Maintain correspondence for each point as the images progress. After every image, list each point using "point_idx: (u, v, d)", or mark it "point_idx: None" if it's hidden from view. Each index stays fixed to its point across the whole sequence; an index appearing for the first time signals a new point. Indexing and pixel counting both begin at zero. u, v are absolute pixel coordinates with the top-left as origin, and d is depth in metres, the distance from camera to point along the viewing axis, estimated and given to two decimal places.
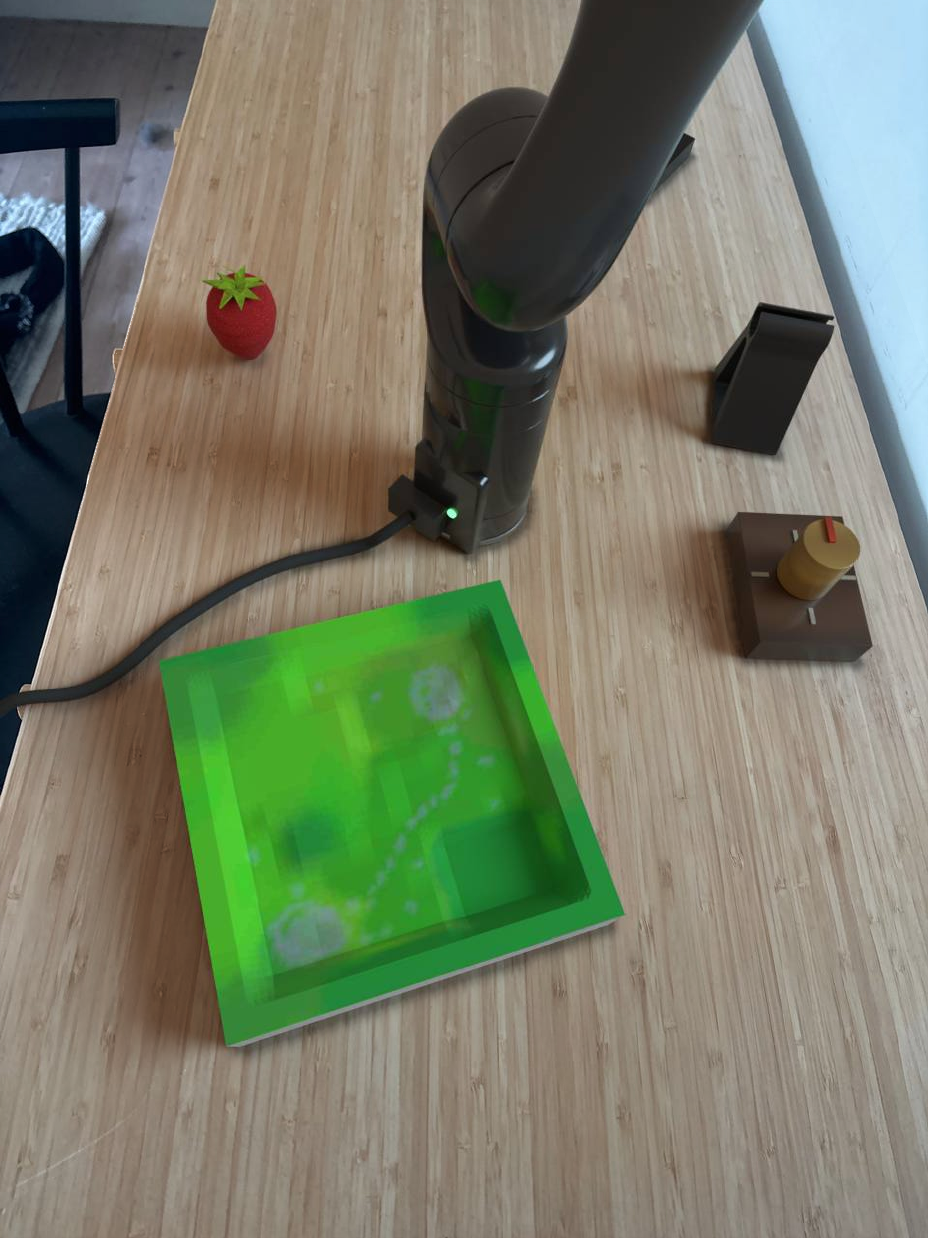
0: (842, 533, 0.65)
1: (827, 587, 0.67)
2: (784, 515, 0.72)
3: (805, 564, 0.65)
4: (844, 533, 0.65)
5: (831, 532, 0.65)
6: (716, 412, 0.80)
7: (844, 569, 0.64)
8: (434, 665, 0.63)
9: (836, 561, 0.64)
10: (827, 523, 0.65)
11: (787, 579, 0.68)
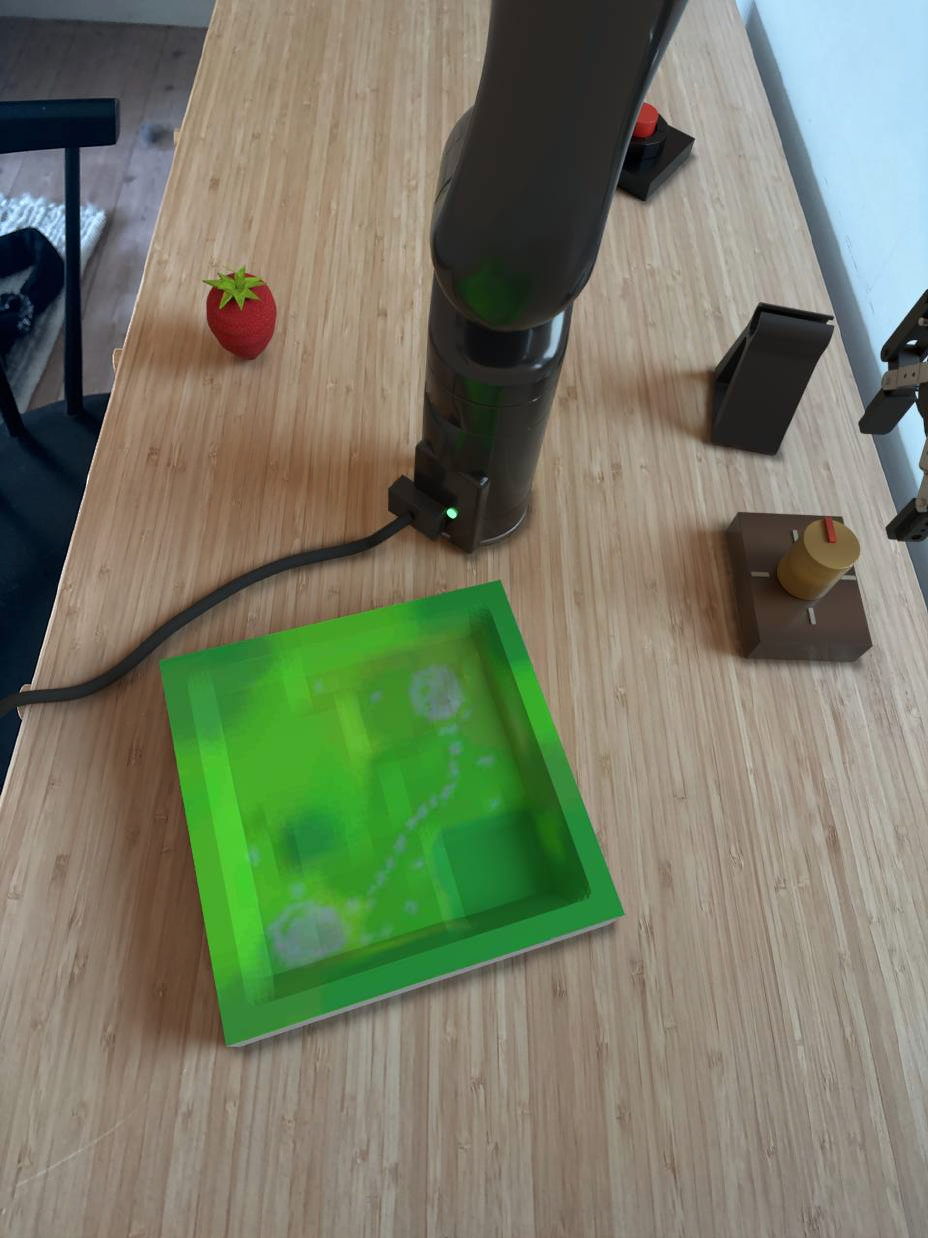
0: (842, 533, 0.65)
1: (827, 587, 0.67)
2: (784, 515, 0.72)
3: (805, 564, 0.65)
4: (844, 533, 0.65)
5: (831, 532, 0.65)
6: (716, 412, 0.80)
7: (844, 569, 0.64)
8: (434, 665, 0.63)
9: (836, 561, 0.64)
10: (827, 523, 0.65)
11: (787, 579, 0.68)
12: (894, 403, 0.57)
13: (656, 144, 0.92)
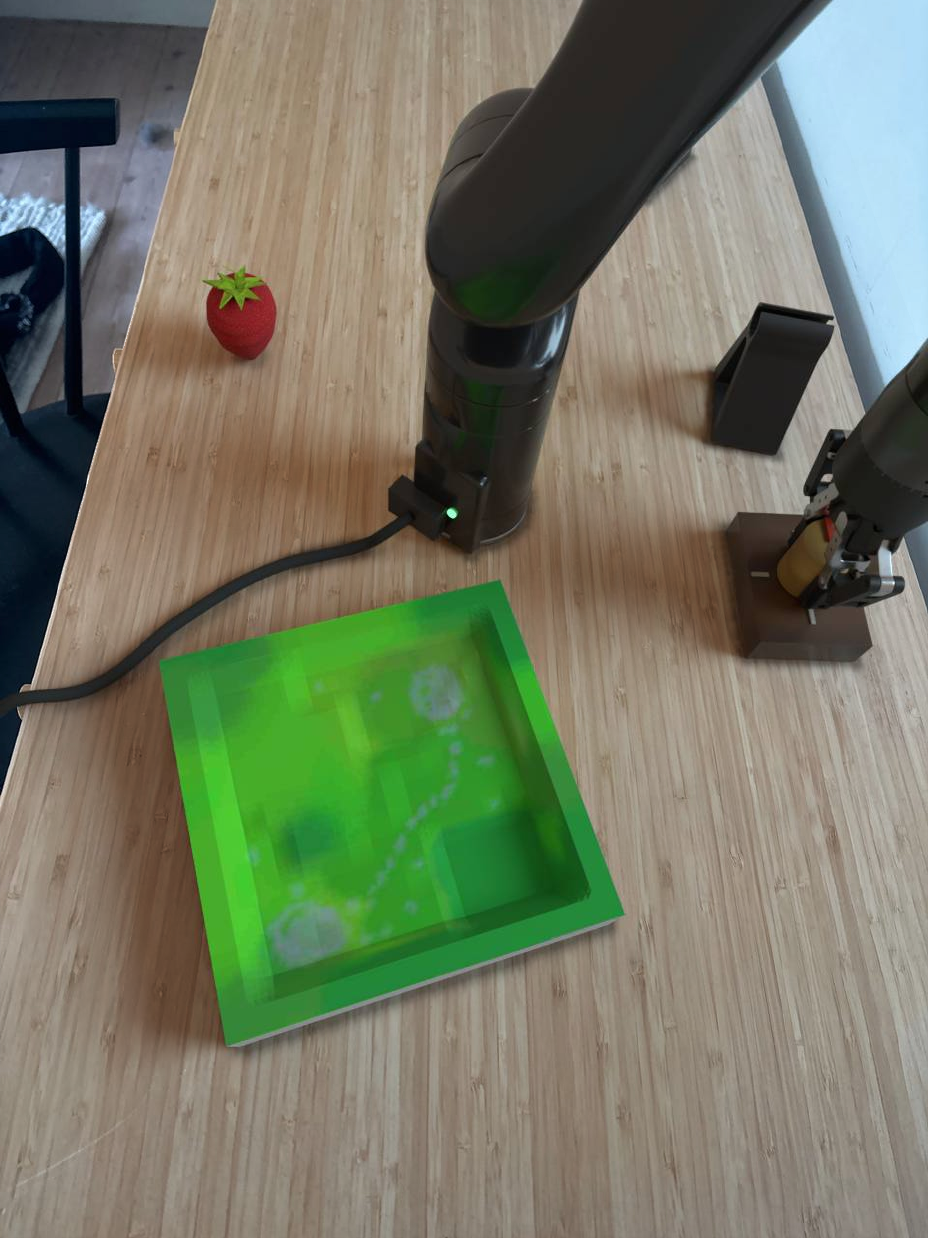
0: None
1: None
2: (784, 515, 0.72)
3: (805, 564, 0.65)
4: None
5: (831, 532, 0.65)
6: (716, 412, 0.80)
7: (844, 569, 0.64)
8: (434, 665, 0.63)
9: None
10: (827, 523, 0.65)
11: (787, 579, 0.68)
12: None
13: None
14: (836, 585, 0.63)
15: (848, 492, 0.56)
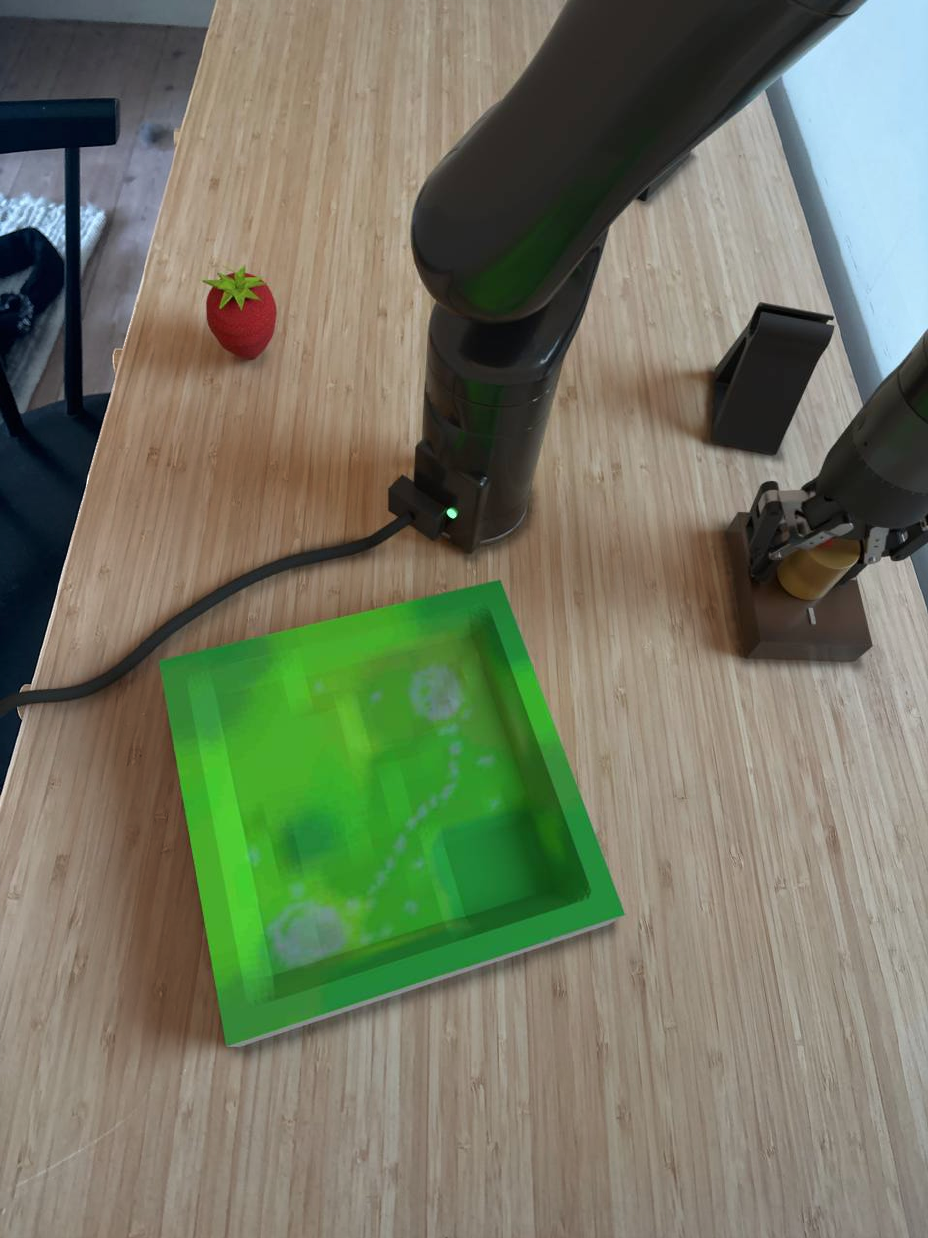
0: None
1: None
2: None
3: None
4: None
5: (824, 542, 0.65)
6: (716, 412, 0.80)
7: None
8: (434, 665, 0.63)
9: (851, 542, 0.65)
10: None
11: (827, 591, 0.68)
12: None
13: None
14: (887, 549, 0.65)
15: (919, 518, 0.56)
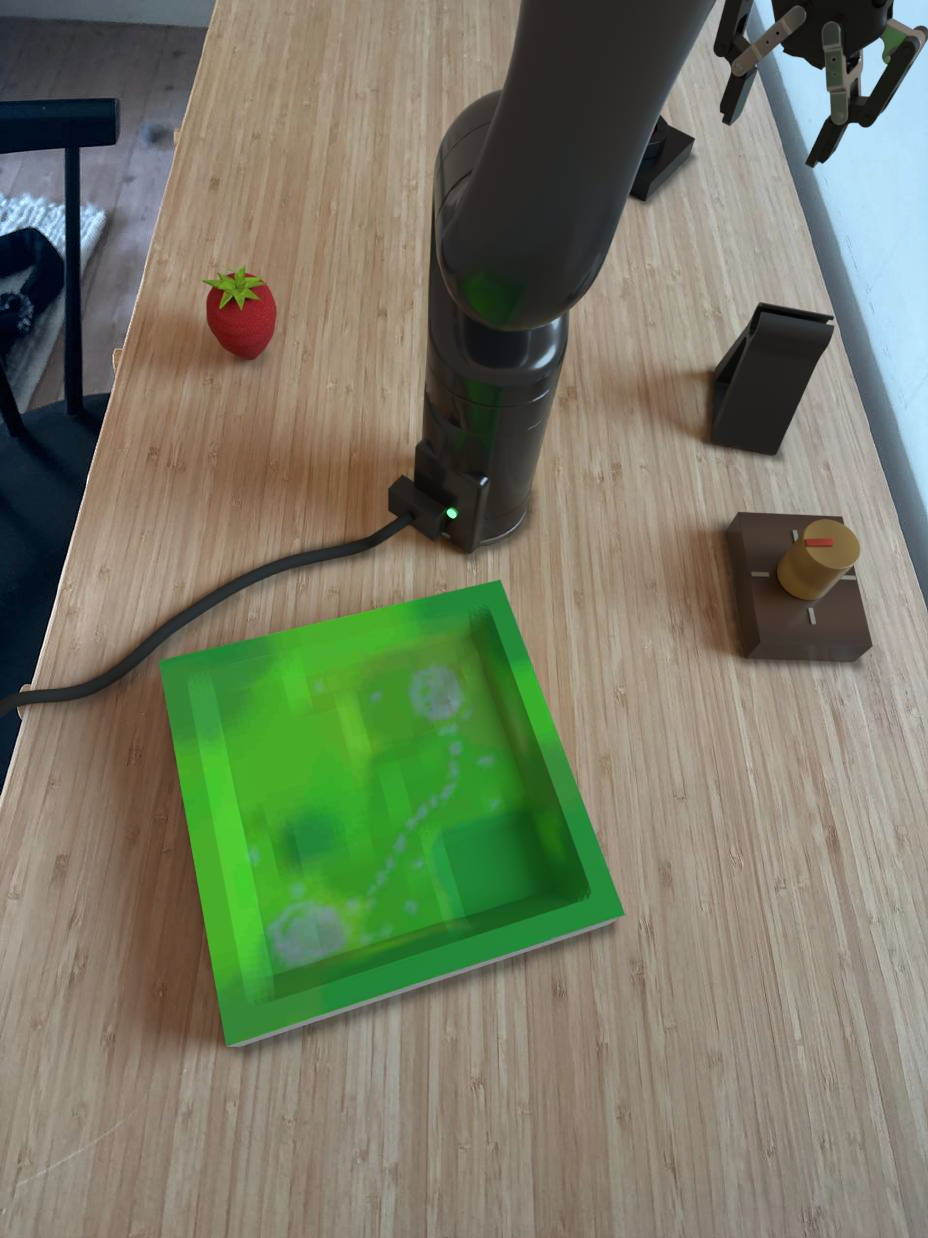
0: (816, 532, 0.65)
1: None
2: (784, 515, 0.72)
3: None
4: (816, 530, 0.65)
5: (824, 542, 0.65)
6: (716, 412, 0.80)
7: (856, 537, 0.65)
8: (434, 665, 0.63)
9: (851, 542, 0.65)
10: (814, 543, 0.64)
11: (827, 591, 0.68)
12: (748, 82, 0.65)
13: (656, 144, 0.92)
14: (858, 106, 0.61)
15: None
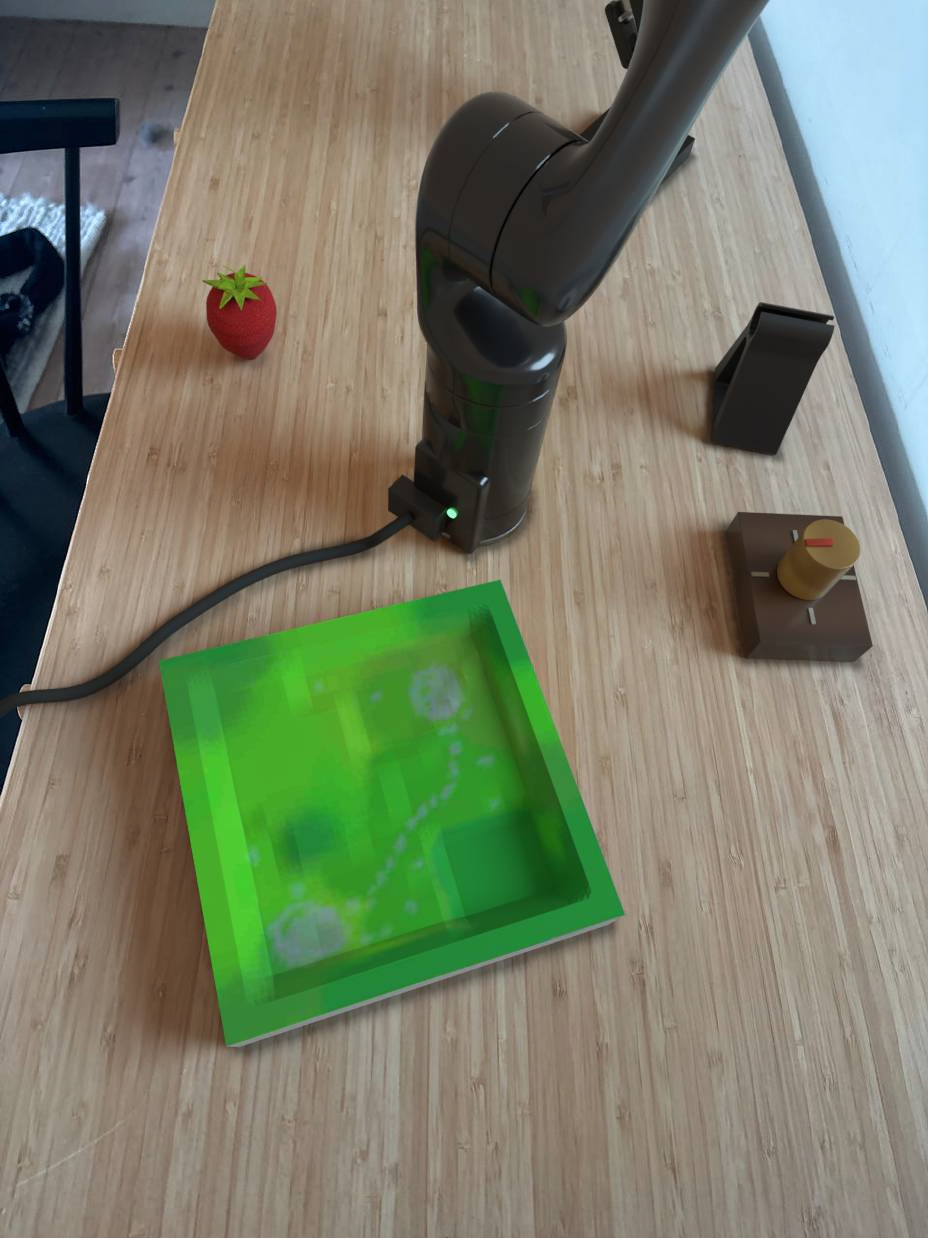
0: (816, 532, 0.65)
1: None
2: (784, 515, 0.72)
3: None
4: (816, 530, 0.65)
5: (824, 542, 0.65)
6: (716, 411, 0.80)
7: (856, 537, 0.65)
8: (434, 665, 0.63)
9: (851, 542, 0.65)
10: (814, 543, 0.64)
11: (827, 591, 0.68)
12: None
13: None
14: None
15: None
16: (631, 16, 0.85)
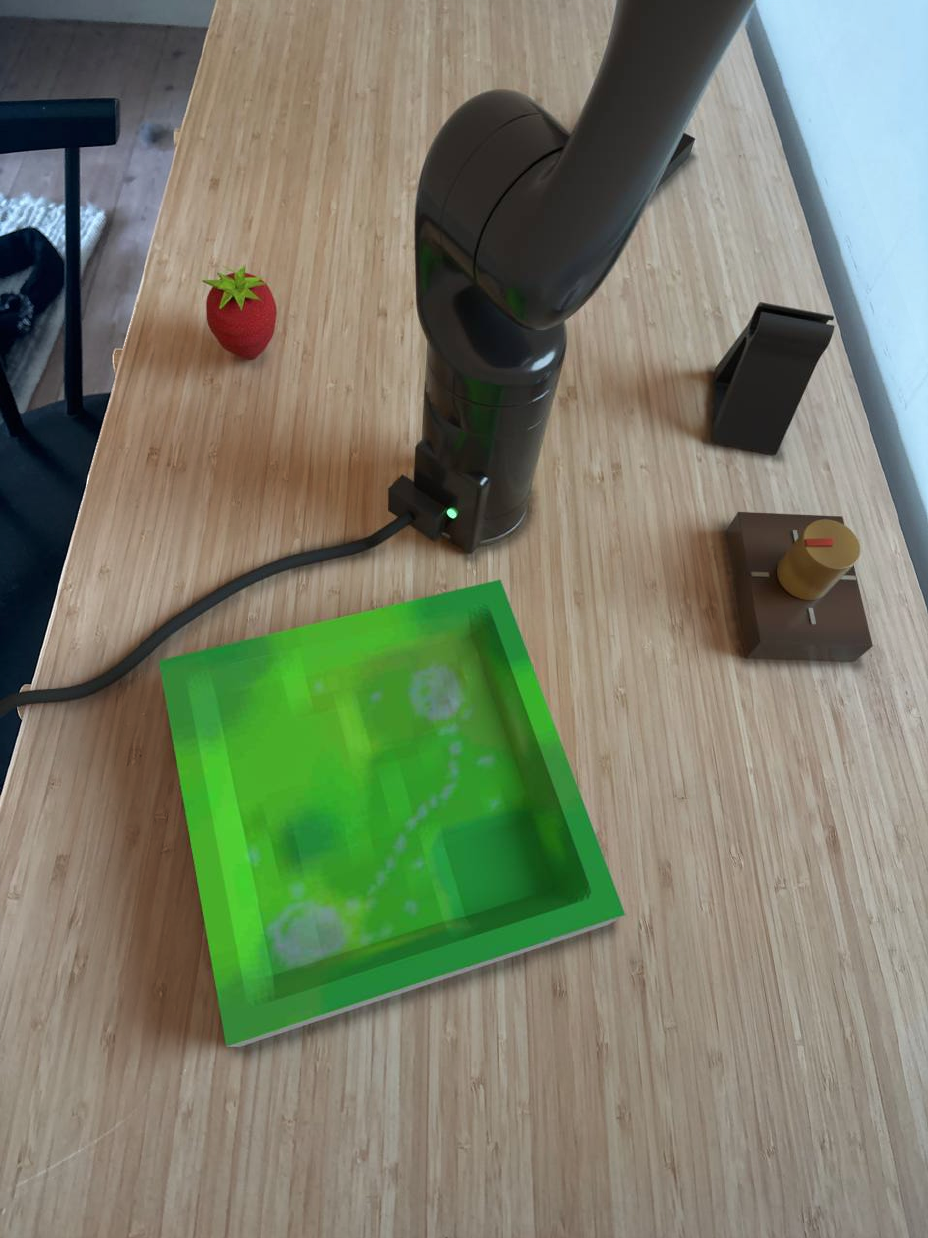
0: (816, 532, 0.65)
1: None
2: (784, 515, 0.72)
3: None
4: (816, 530, 0.65)
5: (824, 542, 0.65)
6: (716, 411, 0.80)
7: (856, 537, 0.65)
8: (434, 665, 0.63)
9: (851, 542, 0.65)
10: (814, 543, 0.64)
11: (827, 591, 0.68)
12: None
13: None
14: None
15: None
16: None
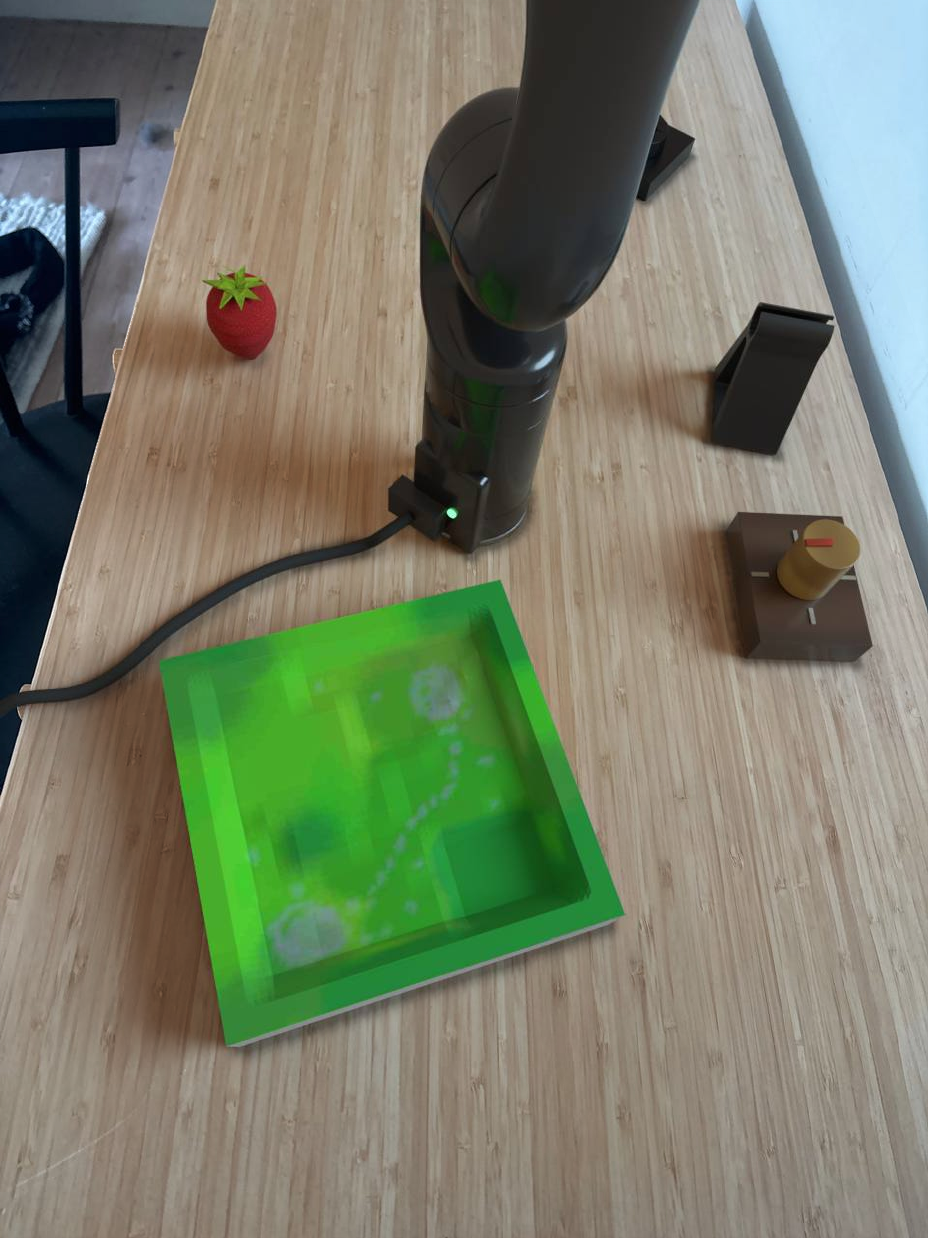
0: (816, 532, 0.65)
1: None
2: (784, 515, 0.72)
3: None
4: (816, 530, 0.65)
5: (824, 542, 0.65)
6: (716, 411, 0.80)
7: (856, 537, 0.65)
8: (434, 665, 0.63)
9: (851, 542, 0.65)
10: (814, 543, 0.64)
11: (827, 591, 0.68)
12: None
13: (656, 144, 0.92)
14: None
15: None
16: None
